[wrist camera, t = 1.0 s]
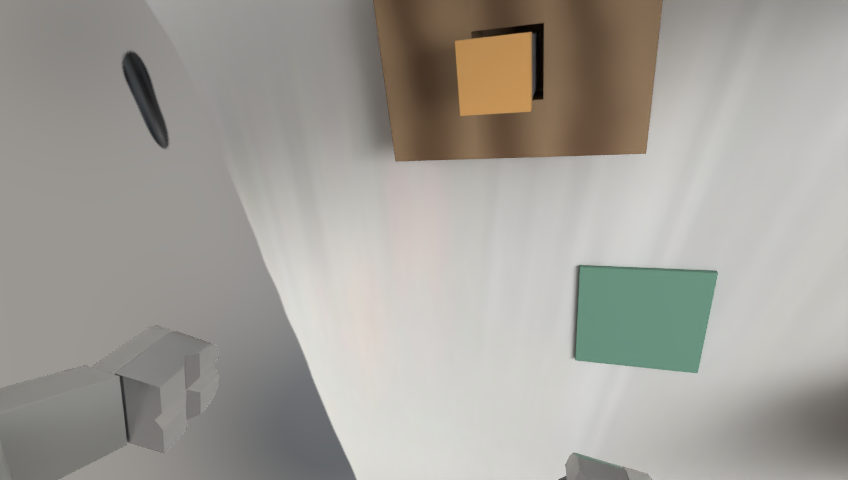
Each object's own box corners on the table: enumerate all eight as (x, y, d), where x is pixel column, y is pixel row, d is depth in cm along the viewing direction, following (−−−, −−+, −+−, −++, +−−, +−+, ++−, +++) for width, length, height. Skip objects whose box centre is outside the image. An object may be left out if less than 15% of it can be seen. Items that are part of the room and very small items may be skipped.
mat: (716, 271, 40) (717, 273, 40) (696, 370, 45) (697, 373, 45) (579, 265, 44) (579, 267, 44) (575, 357, 49) (575, 360, 49)
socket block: (654, -58, 31) (670, -74, 26) (635, 135, 37) (646, 153, 32) (397, -16, 38) (370, -22, 32) (416, 144, 43) (395, 161, 38)
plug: (541, 28, 35) (530, 32, 25) (541, 85, 37) (530, 111, 26) (487, 34, 36) (454, 40, 26) (490, 89, 38) (460, 115, 28)
